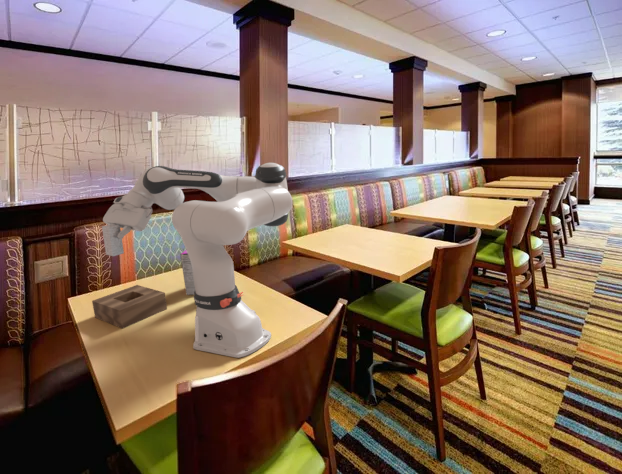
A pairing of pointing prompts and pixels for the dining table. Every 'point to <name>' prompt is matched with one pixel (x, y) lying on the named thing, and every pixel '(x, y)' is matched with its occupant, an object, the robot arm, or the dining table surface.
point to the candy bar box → (187, 273)
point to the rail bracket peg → (112, 240)
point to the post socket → (129, 305)
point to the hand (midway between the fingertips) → (113, 237)
